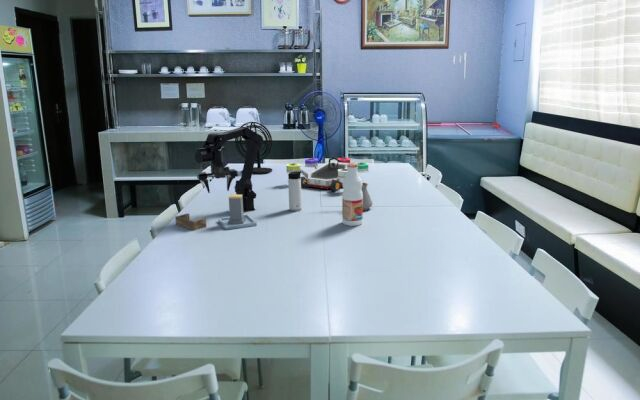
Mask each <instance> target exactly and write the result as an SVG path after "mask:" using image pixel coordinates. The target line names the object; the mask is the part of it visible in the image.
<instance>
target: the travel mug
mask: <svg viewBox="0 0 640 400" xmlns="http://www.w3.org/2000/svg"><path fill="white" fill-rule="evenodd" d="M301 174H302V173H301V171H296V172H291V173H287V177H288V179H287V180H288V182H287V184H288V207H289V211H290V212H300V211H302V187H301V177H302V176H301Z"/></svg>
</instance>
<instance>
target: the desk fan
mask: <svg viewBox="0 0 640 400" xmlns="http://www.w3.org/2000/svg"><path fill="white" fill-rule="evenodd" d="M248 124H250V125H248ZM246 125H247V126H246ZM240 127H248V128H249V129H250V130H252V131H254V132H255V133H257V134H258V132H260V133H261V134H262V135H263V136H264V137H263V136H262V138H263V139H265V140H263V142H262V145H261V148H260V149H259V150H258V151H257V153H256V157H255V162H256V165H257V166H256V167H255V166H254V167H253V172H252V175H253V174H255V175H256V174H257V175H263V174H269V173H271V172H272V171H273V168H270V167H262V166H261V164H262V163H261V160H264V159H266V157H268V156H269V154H270V153H271V151H272V148H273V138H272V135H271V132H270V131H269V129H268V128H267V127H266V126H265V125H263V124H262V123H260V122H257V121H249V122H246V123H243V124H242V125H240ZM252 127H253V128H254V129H253V128H252ZM245 142H246V140H244V139H243V138H242V136H241V137H237V138H234V144H235V148H236V149H237V152H238V153H239V155H240V156H242V157H243V158H244V159H245V157H246V153H247V149H245V148H244V146H243V145H245ZM263 145H264V146H263ZM262 146H263V148H262ZM264 149H265V150H264ZM263 150H264V152H263V153H261V152H262V151H263ZM265 154H266V155H265ZM264 155H265V156H264ZM263 156H264V157H263ZM261 157H262V158H261ZM242 171H243V169H242V170H241V172H242Z"/></svg>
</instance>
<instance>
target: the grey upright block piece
mask: <svg viewBox="0 0 640 400" xmlns="http://www.w3.org/2000/svg"><path fill="white" fill-rule="evenodd" d="M228 208H229V217H230V219H229V221H228V224H244V222H245V221H246V217H244V215H245V214H244V211H243V197H242V195H237V194H230V195H228Z"/></svg>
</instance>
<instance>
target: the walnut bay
mask: <svg viewBox="0 0 640 400" xmlns="http://www.w3.org/2000/svg"><path fill="white" fill-rule="evenodd" d="M174 219H175V225H176V226H178V225H179V227H181V226H182V228H185V229H188V230H191V231H197V230H200V228H201V229H204V228H207V219H206V218H205V217H204V218H200V219H197V220H191V219H190V213H184V214H180V215H175V218H174Z"/></svg>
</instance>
